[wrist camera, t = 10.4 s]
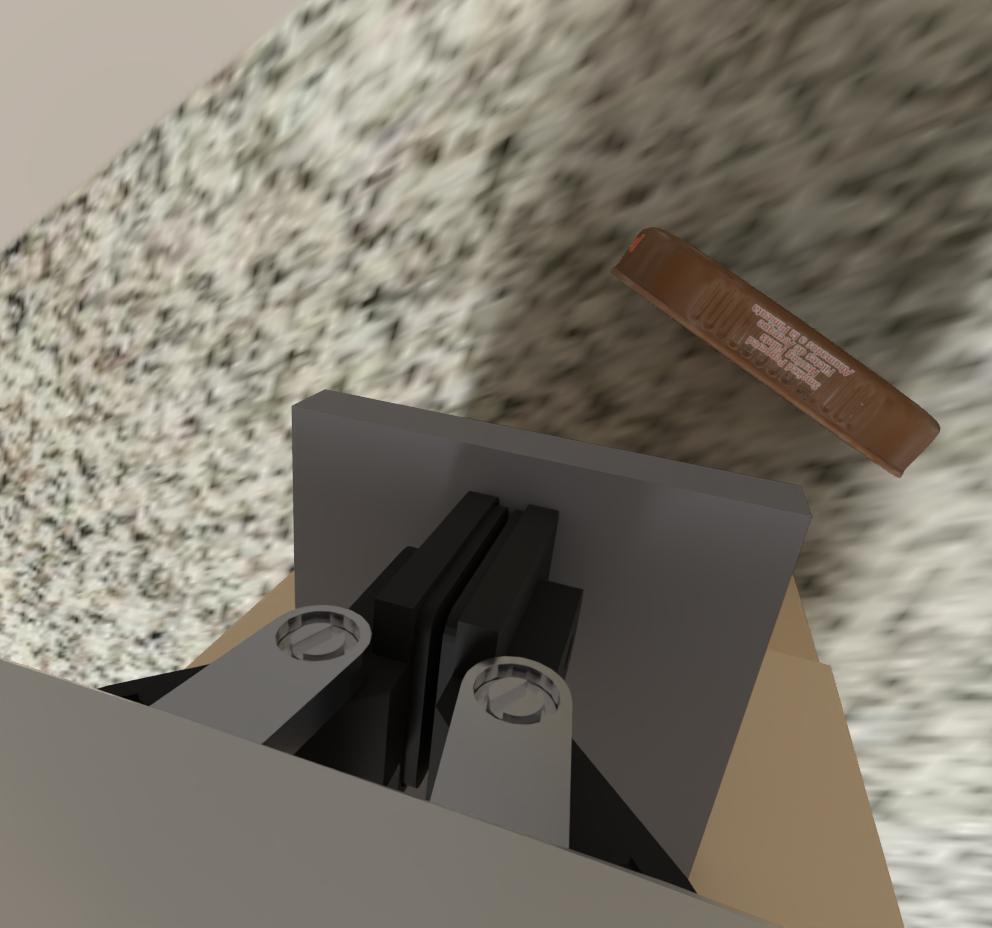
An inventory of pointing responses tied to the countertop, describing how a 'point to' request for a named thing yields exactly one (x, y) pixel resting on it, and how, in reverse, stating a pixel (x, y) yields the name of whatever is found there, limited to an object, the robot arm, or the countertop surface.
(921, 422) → the tin
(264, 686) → the robot arm
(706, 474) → the lid
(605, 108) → the countertop surface
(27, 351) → the countertop surface
